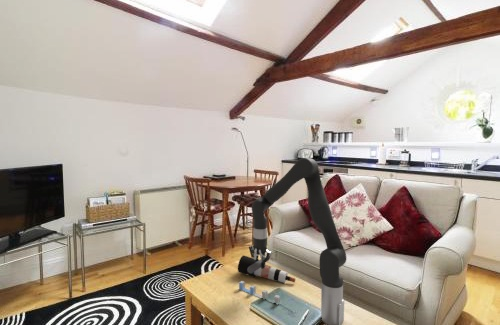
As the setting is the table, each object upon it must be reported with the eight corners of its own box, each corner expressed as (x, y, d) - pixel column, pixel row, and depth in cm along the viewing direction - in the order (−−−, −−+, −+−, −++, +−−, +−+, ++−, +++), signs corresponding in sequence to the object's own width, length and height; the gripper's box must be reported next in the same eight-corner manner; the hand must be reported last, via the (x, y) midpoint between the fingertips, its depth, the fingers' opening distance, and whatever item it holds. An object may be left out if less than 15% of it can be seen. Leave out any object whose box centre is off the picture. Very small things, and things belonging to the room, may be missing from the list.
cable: (292, 293, 151) (292, 282, 146) (239, 275, 165) (236, 265, 159) (297, 278, 159) (297, 267, 153) (245, 262, 172) (243, 252, 167)
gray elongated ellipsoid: (261, 263, 148) (261, 257, 147) (266, 265, 145) (266, 259, 145) (245, 273, 137) (245, 266, 137) (251, 275, 135) (251, 268, 134)
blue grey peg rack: (280, 303, 135) (280, 296, 134) (277, 305, 133) (277, 298, 132) (241, 287, 149) (241, 280, 149) (239, 289, 148) (239, 282, 147)
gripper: (275, 236, 140) (274, 268, 142) (253, 230, 149) (253, 260, 151) (267, 241, 135) (266, 274, 136) (245, 234, 143) (245, 265, 145)
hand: (259, 266), depth 144 cm, fingers closed on gray elongated ellipsoid, 3 cm apart
